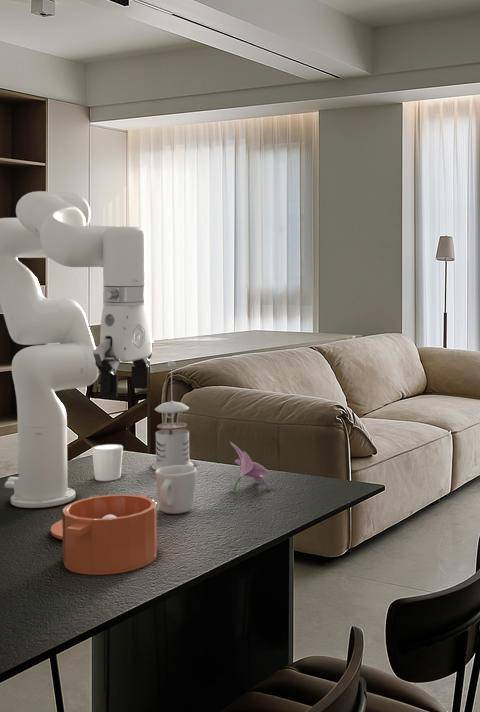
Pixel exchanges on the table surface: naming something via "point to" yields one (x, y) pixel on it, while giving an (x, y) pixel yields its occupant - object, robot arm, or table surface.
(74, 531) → the pot
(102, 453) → the white short tapered cylinder
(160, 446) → the white hanging lantern
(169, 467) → the cup
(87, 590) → the table surface
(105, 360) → the robot arm
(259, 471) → the lily
